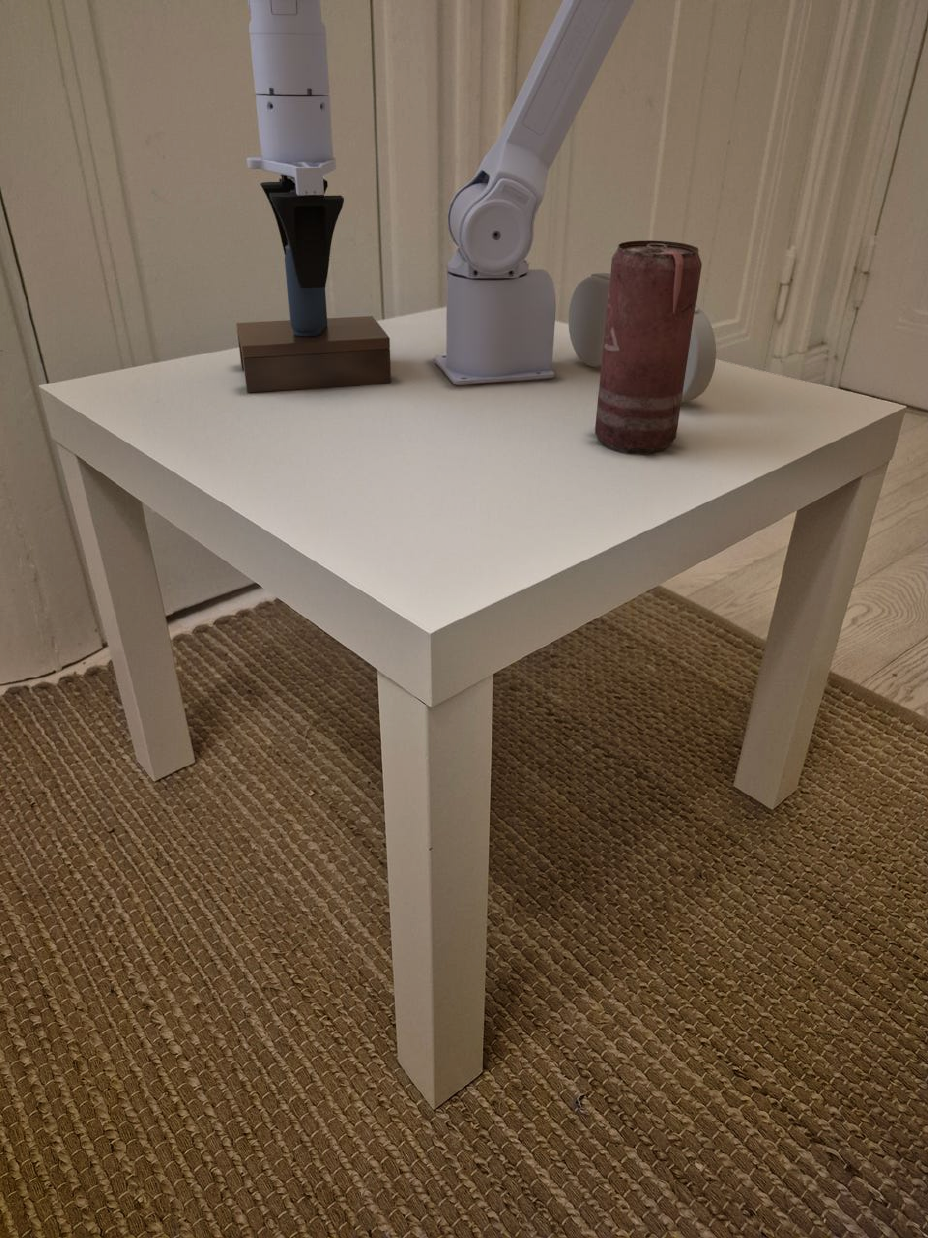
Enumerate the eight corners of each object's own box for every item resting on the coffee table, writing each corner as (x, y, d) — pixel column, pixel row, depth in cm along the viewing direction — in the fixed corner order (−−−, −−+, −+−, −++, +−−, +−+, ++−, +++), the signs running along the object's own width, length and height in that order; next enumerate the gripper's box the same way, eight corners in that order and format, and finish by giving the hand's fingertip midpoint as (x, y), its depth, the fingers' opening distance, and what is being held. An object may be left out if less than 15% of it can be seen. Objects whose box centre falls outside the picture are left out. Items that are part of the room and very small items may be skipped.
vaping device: (331, 323, 81) (321, 177, 75) (317, 338, 77) (306, 184, 70) (303, 322, 81) (291, 176, 75) (288, 337, 77) (274, 183, 70)
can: (627, 462, 64) (652, 256, 57) (578, 434, 69) (595, 240, 62) (693, 449, 67) (725, 250, 59) (641, 422, 71) (665, 235, 64)
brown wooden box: (374, 358, 86) (372, 315, 84) (391, 382, 79) (389, 337, 77) (241, 366, 83) (236, 322, 81) (247, 392, 76) (241, 346, 74)
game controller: (710, 412, 74) (727, 309, 69) (688, 416, 73) (704, 312, 69) (584, 352, 89) (591, 264, 84) (564, 355, 88) (571, 266, 83)
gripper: (234, 91, 74) (253, 263, 82) (247, 97, 63) (267, 298, 70) (319, 92, 76) (329, 260, 83) (346, 98, 64) (355, 294, 71)
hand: (306, 277), depth 77 cm, fingers open, 7 cm apart
